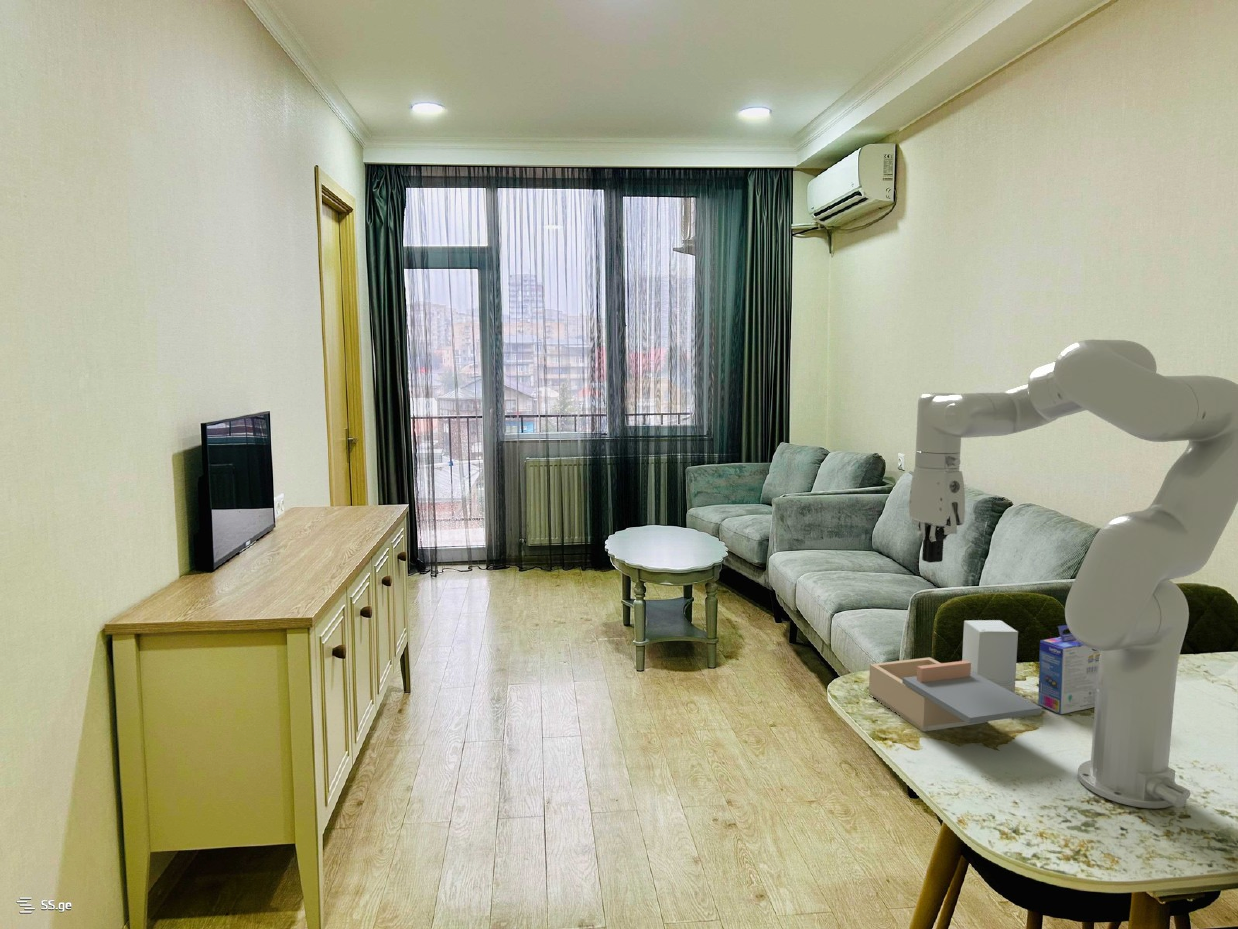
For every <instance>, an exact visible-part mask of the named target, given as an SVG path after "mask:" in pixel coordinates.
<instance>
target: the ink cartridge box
mask: <svg viewBox="0 0 1238 929" xmlns="http://www.w3.org/2000/svg"><path fill="white" fill-rule="evenodd" d="M1057 630H1058V633H1059V636H1058V637H1053V638H1047V639H1041V640H1040V641H1039V664H1038V665H1039V668H1038V669H1039V670H1038V697H1037V698H1038V699H1037V700H1038V701H1037V703H1038V704H1037V705H1038V706H1040V707H1042V708H1046V709H1048V710H1050V711H1052V712H1054V713H1057V714H1058V715H1064V714H1065V715H1066V714H1070V713H1074V712H1079V711H1082V710H1086V709H1093V708H1095V696H1096V682H1097V671H1098V662H1099V657H1100V653H1101V651H1100V650H1094V649H1091V648H1088V647H1086V646H1084V645H1083V644H1081V643H1080V642H1078V641H1077V640H1076V639H1075V637H1074V636H1073V635H1072V634H1071V632H1070V633H1063V632H1064V631H1066V630H1069V628H1068V626H1067V624H1065V625H1059V626H1058V625H1057Z"/></svg>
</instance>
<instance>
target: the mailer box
mask: <svg viewBox="0 0 1238 929" xmlns="http://www.w3.org/2000/svg"><path fill="white" fill-rule="evenodd" d="M940 663H941V662H939V661H938V660H936V659H934V658H932V657H930V656H929V657H922V658H913V659H904V660H895V661H894V660H893V661H886V662H877V663H870V664H869V674H868V675H869V676H868V678H869V680H868V695H869V694H870V695H872V696H873V697H874V698H876V699H877V700H878V701H879V702H881V703H882V704H883V706H884V705H885V706H887V707H888V708H890V709H891V710H892V711H891V710H890V709H889V710H890V711H891V712H893V713H894V712H896V713H897V714H898V716H899V715H900V716H901V717H900V716H899V717H900V718H902V719H904V720H905V721H906V720H907V721H906V722H908V723H909V722H910V723H909V724H911V725H912V726H913V727H915V726H916V727H915V728H917V729H918V730H920V731H921V732H931V731H937V730H946V729H951V728H959V727H964V726H965V727H966V726H973V725H978V724H979V725H980V724H985V723H987V724H988V722H981V723H974V724H969V723H967V722H965V721H964V720H962V719H960V718H959V717H957V716H955V715H954V714H952V713H950V712H949V711H947V710H946V709H944V708H942V707H941V706H939V705H937V704H936V703H934V702H932V701H931V700H929V699H927V698H926V697H924V696H922V695H921V694H919V693H918V692H916V691H914V690H913V689H911V688H909V687H908V686H906V685H904V684H903V683H902V682H903V678H905V677H914V676H917V666H923V665H932V664H940ZM874 698H873V699H874ZM877 700H876V701H877ZM878 701H877V702H878ZM879 702H878V703H879ZM881 703H880V704H881ZM882 704H881V705H882ZM885 706H884V707H885ZM887 707H886V708H887ZM888 708H887V709H888ZM896 713H895V714H896ZM897 714H896V715H897Z"/></svg>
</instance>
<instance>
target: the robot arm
mask: <svg viewBox="0 0 1238 929" xmlns="http://www.w3.org/2000/svg"><path fill="white" fill-rule="evenodd" d="M1085 411H1088V412H1090V413H1092V414H1093V415H1095V416H1096V417H1099V418H1100V419H1102V420H1104V421H1105V422H1107V423H1109V424H1111V425H1112V426H1115V428H1118V429H1119V430H1121V431H1123V432H1125V433H1126V434H1129V435H1131V436H1133V437H1135V438H1138V439H1141V440H1144V441H1149V442H1152V443H1153V442H1154V443H1156V442H1157V443H1169V442H1181V441H1188V444H1187V446H1186V448H1185V450H1184V452H1183V453H1181V455H1180V456H1179V457H1178V458H1177V459H1176V461H1175V462H1174V463H1173V464H1172V465H1171V467H1170V468H1169V470H1168V471H1167V473H1166V474H1165V477H1164V480H1163V481H1162V484H1161V486H1160V488H1159V491H1158V492H1157V494H1156V495H1155V497H1154V499H1153V501H1152V502H1151V504H1150V505H1149V506H1148V508H1146V509H1144V510H1138V511H1131V512H1126V513H1123V514H1119V515H1117V516H1115V517H1113V518H1112V519H1110V520H1108V521H1107V522H1106V523H1105V524H1104V525H1103V526H1102V527H1101V528H1100V529H1099V530H1098V531H1097V533H1096V534H1095V536H1094V538H1093V540H1092V542H1091V544H1090V546H1089V548H1088V550H1087V552H1086V554H1085V557H1084V558H1083V561H1082V563H1081V566H1080V568H1079V570H1078V572H1077V574H1076V575H1075V576H1076V577H1075V578H1074V581H1073V583H1072V585H1071V588H1070V590H1069V592H1068V595H1067V598H1066V602H1065V607H1064V616H1065V623H1066V625H1067V626H1068V628H1069V629H1068V630H1069V631H1070V633H1071V634H1072V635H1073V636H1074V637H1075V639H1076V640H1077V641H1078V642H1080V643H1081V644H1083V645H1084V646H1086V647H1088V648H1091V649H1094V650H1100V651H1101V653H1100V657H1099V662H1098V671H1097V682H1096V696H1095V707H1094V713H1093V726H1092V741H1091V754H1090V760H1087V761H1084V762H1082V763H1081V764H1080V765H1079V766H1078V767H1077V778H1078V780H1079V782H1080V783H1081V784H1082V785H1083V786H1084V787H1085V788H1086V789H1087V790H1089V791H1091V792H1092V793H1094V794H1096V795H1098V796H1100V797H1102V798H1105V799H1106V800H1109V801H1112V802H1115V803H1118V804H1121V805H1126V806H1130V807H1135V808H1140V809H1141V808H1142V809H1164V808H1165V809H1166V808H1169V807H1172V806H1174V807H1176V808H1177V809H1181V808H1183V807H1184V806H1185V805H1186V802H1187V799H1189V798H1190V797H1191V795H1192V794H1191V790H1190V789H1188V788H1187V787H1184V786H1183V785H1179V784H1177V783H1176V781H1175V779H1176V770H1175V769H1174V768H1171V767H1169V763H1170V754H1171V753H1170V752H1171V741H1172V740H1171V739H1172V730H1173V728H1172V726H1173V717H1174V716H1173V715H1174V705H1175V704H1174V703H1175V692H1176V687H1177V686H1176V685H1177V684H1176V683H1177V674H1178V667H1179V666H1178V665H1179V660H1180V654H1181V650H1182V647H1183V643H1184V639H1185V637H1186V636H1185V635H1186V632H1187V629H1188V624H1189V618H1190V617H1189V616H1190V612H1189V605H1188V600H1187V598H1186V596H1185V594H1184V593H1183V591H1182V589H1181V588H1180V587H1179V585H1177V584H1176V583H1174V581H1172V580H1175V579H1179V578H1183V577H1188V576H1190V575H1192V574H1195V573H1197V572H1199V571H1200V570H1202V569H1203V568H1204V566H1206V564H1207V563H1208V561H1209V559H1210V558H1211V556H1212V554H1213V551H1214V550H1215V548H1216V547H1217V544H1218V542H1219V540H1220V538H1221V536H1222V534H1223V532H1224V531H1225V529H1226V527H1227V524H1228V523H1229V522H1230V519H1231V517H1232V515H1233V513H1234V510H1236V507H1237V505H1238V384H1237V383H1236V382H1234V381H1232V380H1229V379H1226V378H1223V377H1218V376H1213V375H1162V374H1159V373H1158V372H1157V362H1156V359H1155V356H1154V355H1153V354H1152V352H1151V351H1150V350H1149V349H1148V348H1147V347H1146V346H1144V345H1142V344H1141V343H1138V342H1135V341H1131V340H1126V339H1125V340H1124V339H1084V340H1081V341H1080V340H1079V341H1077V342H1075V343H1072V344H1070V345H1069V346H1067V347H1065V349H1063V351H1061V352H1060V353H1059V355H1058V356H1057V358H1056V360H1055V361H1052V362H1050V363H1046V364H1043V365H1040V366H1038V367H1036V368H1035V369H1034V370H1033V371H1032V372H1031V373H1030V375H1029V377H1028V381H1027V384H1026V385H1022V386H1019V387H1016V388H1013V389H1009V390H1007V391H1002V392H976V393H975V392H974V393H973V392H971V393H953V392H927V393H923V394H921V395H920V396H919V397H918V401H917V416H916V417H917V418H916V419H917V420H916V434H915V436H916V440H915V454H914V456H915V458H914V468H913V471H912V476H911V483H910V488H909V489H910V492H909V498H908V499H909V500H908V501H909V504H908V507H909V508H908V511H909V516H910V517H911V518H912V524H914V526H916V527H918V528H919V531H920V537H921V539H922V553H921V554H922V556H921V557H922V558H921V560H922V561H923V562H927V563H930V564H931V563H940V562H941V563H942V562H943V559H944V558H943V557H944V556H943V555H944V542H945V541H946V540H947V537H948V536H949V535H957V533H958V528H957V526H959V527H960V526H962V525H964V523H965V518H966V517H965V516H966V495H965V494H966V493H965V492H966V491H965V481H964V476H963V475H964V474H963V472H962V471H961V470H960V465H961V448H962V447H961V446H962V439H964V438H967V439H968V438H970V439H971V438H983V437H1002V436H1009V435H1012V434H1017V433H1020V432H1024V431H1027V430H1031V429H1034V428H1038V427H1042V426H1045V425H1047V424H1049V423H1052V422H1054V421H1057V420H1058V419H1061V418H1064V417H1066V416H1071V415H1074V414H1078V413H1081V412H1085Z"/></svg>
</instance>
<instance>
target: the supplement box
mask: <svg viewBox="0 0 1238 929" xmlns="http://www.w3.org/2000/svg"><path fill="white" fill-rule="evenodd" d="M962 635H963V636H962V637H963V638H962V659H961V661H968V662H970V663H971V671H972V672H974V673H976V674H978V675H980V676H982V677H984V678H986V679H988V680H990V681H992V682H994V683H995V684H997V685H999V686H1001V687H1003V688H1005V689H1007V690H1009V691H1011V692H1013V693H1015V694H1016V691H1015V690H1016V676H1017V674H1016V673H1017V660H1018V659H1017V656H1018V638H1019V637H1018V636H1019V631H1018V630H1016V629H1014V628H1013V627H1012V626H1010V625H1008V624H1007V623H1005V622H1004V621H1003V620H1000V619H998V620H997V619H996V620H995V619H992V620H991V619H988V620H987V619H986V620H984V619H983V620H982V619H978V620H977V619H976V620H975V619H972V620H964V621H963V634H962Z"/></svg>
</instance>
